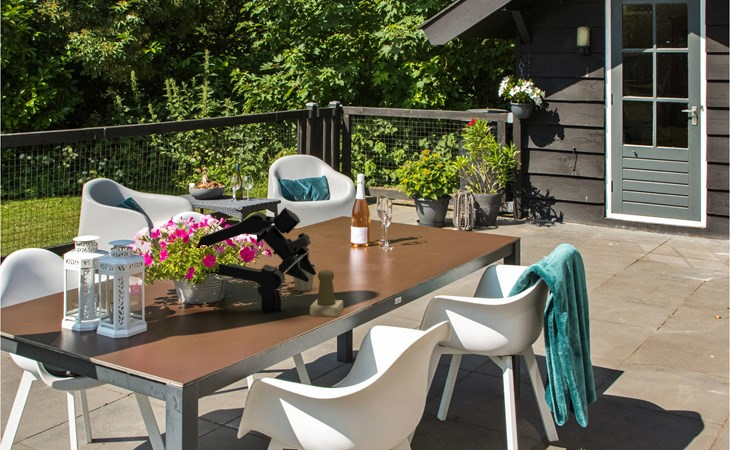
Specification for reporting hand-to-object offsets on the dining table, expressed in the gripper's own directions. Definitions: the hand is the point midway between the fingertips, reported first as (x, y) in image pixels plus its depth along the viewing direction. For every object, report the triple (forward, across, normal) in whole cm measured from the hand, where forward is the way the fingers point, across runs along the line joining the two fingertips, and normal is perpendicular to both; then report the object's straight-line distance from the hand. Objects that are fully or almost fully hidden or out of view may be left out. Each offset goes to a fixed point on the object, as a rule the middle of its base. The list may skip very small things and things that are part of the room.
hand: (311, 277), depth 311 cm
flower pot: (+1, +29, +16) cm, 33 cm away
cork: (+9, 0, +3) cm, 10 cm away
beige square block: (+12, 0, +5) cm, 12 cm away
